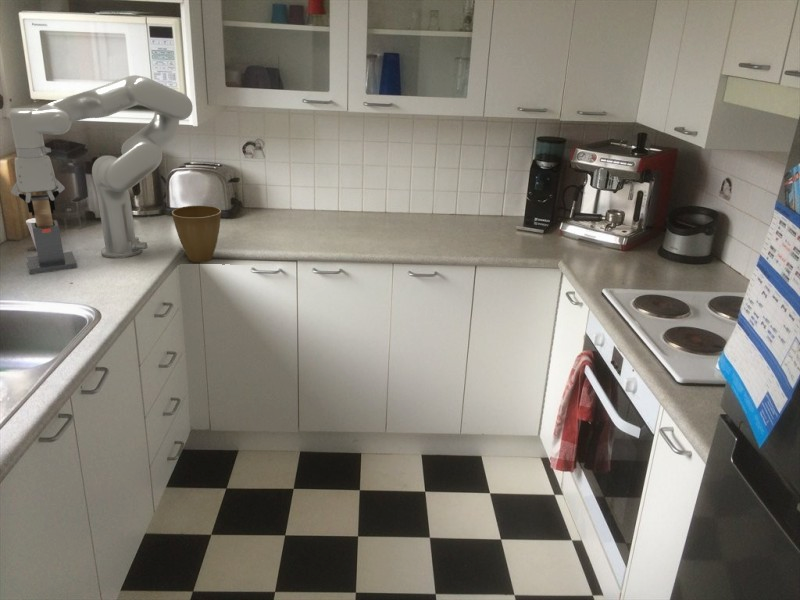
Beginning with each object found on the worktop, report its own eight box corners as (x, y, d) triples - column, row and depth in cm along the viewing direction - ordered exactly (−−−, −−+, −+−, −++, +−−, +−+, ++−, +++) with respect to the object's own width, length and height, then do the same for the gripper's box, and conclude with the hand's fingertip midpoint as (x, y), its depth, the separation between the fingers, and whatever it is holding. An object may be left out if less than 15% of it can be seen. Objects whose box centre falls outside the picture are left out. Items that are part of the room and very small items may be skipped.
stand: (73, 255, 213) (66, 216, 208) (77, 267, 203) (70, 227, 198) (27, 261, 207) (19, 221, 202) (30, 274, 197) (21, 232, 192)
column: (57, 251, 207) (47, 194, 200) (59, 255, 203) (48, 197, 196) (41, 253, 205) (30, 195, 198) (42, 257, 201) (31, 198, 194)
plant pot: (171, 265, 207) (165, 216, 201) (185, 251, 220) (180, 204, 214) (218, 266, 207) (214, 217, 201) (229, 252, 221) (225, 205, 214)
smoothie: (43, 251, 217) (35, 210, 211) (26, 250, 218) (18, 208, 212) (56, 246, 222) (49, 205, 217) (40, 244, 224) (32, 204, 218)
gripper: (62, 149, 199) (72, 207, 206) (-3, 152, 191) (10, 213, 198) (64, 153, 193) (74, 213, 200) (-2, 157, 185) (11, 219, 192)
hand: (42, 213), depth 199 cm, fingers closed on column, 4 cm apart
